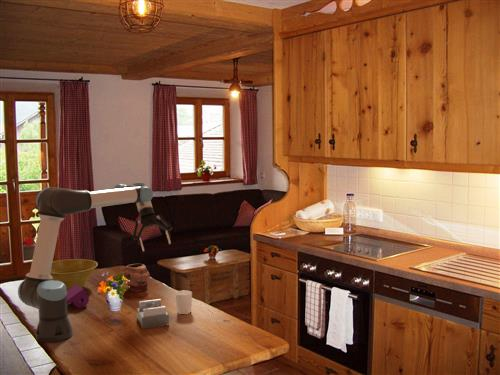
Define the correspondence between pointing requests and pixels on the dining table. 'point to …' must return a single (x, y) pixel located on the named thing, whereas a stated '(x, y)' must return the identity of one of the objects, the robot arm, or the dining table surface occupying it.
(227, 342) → the dining table surface
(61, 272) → the planter bowl
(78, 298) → the purple elongated rounded piece
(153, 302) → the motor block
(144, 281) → the decorative planter
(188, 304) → the white cup
